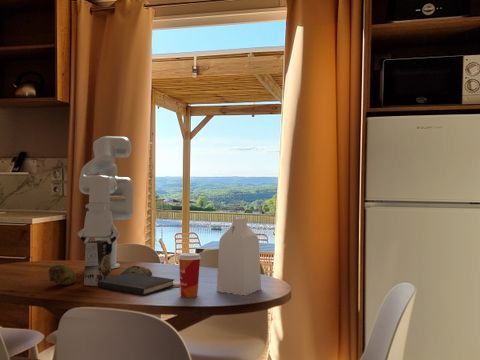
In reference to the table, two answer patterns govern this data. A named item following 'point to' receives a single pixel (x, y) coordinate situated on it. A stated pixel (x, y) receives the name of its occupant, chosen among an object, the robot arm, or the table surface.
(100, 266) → the coffee box
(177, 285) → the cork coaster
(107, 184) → the robot arm
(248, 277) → the milk
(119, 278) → the hardcover book
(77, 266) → the table surface
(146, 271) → the bread roll
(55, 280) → the potato
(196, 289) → the paper cup
